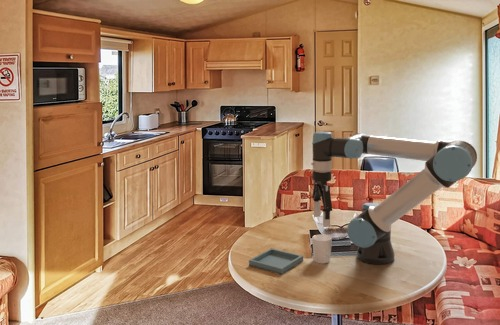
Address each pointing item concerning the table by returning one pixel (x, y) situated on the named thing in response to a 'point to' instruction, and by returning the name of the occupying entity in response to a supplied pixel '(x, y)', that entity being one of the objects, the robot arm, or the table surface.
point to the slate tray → (276, 261)
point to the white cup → (322, 248)
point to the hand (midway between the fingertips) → (321, 221)
